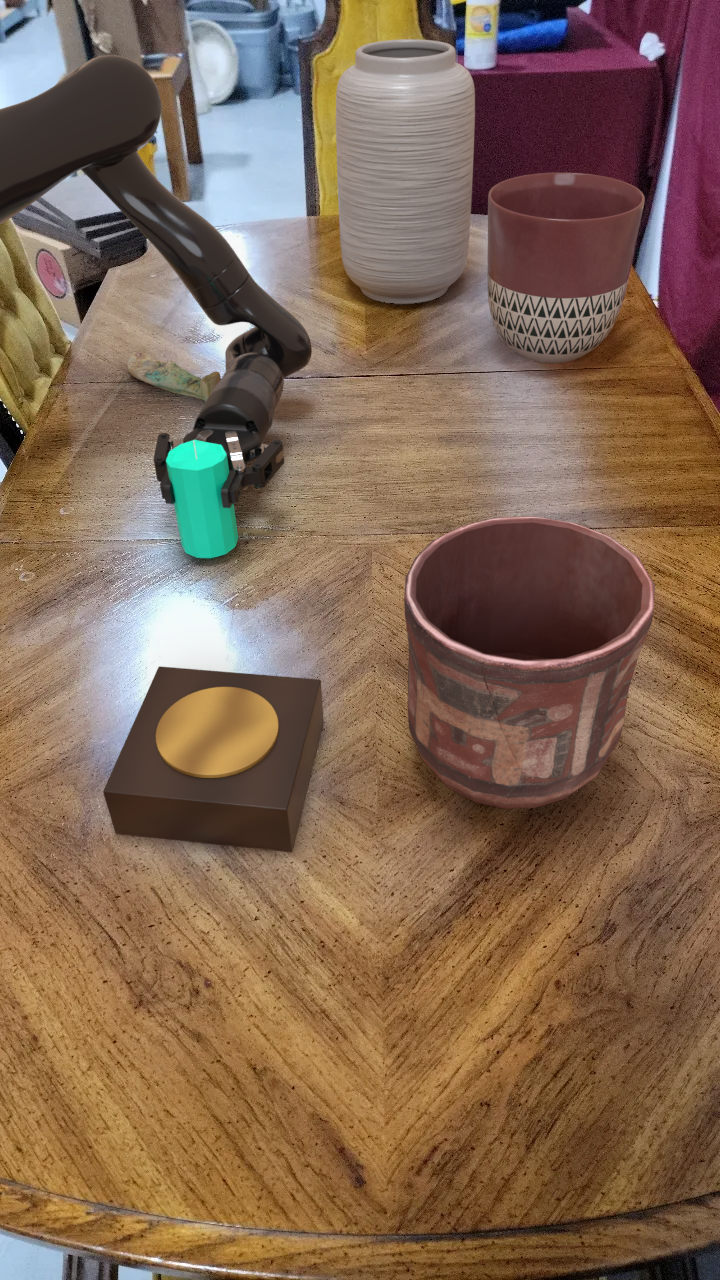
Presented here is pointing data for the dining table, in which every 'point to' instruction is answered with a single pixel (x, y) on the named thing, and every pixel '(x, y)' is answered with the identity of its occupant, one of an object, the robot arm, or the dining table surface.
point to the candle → (202, 498)
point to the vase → (405, 169)
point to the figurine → (170, 376)
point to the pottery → (522, 656)
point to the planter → (559, 261)
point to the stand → (218, 759)
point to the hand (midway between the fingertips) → (196, 498)
